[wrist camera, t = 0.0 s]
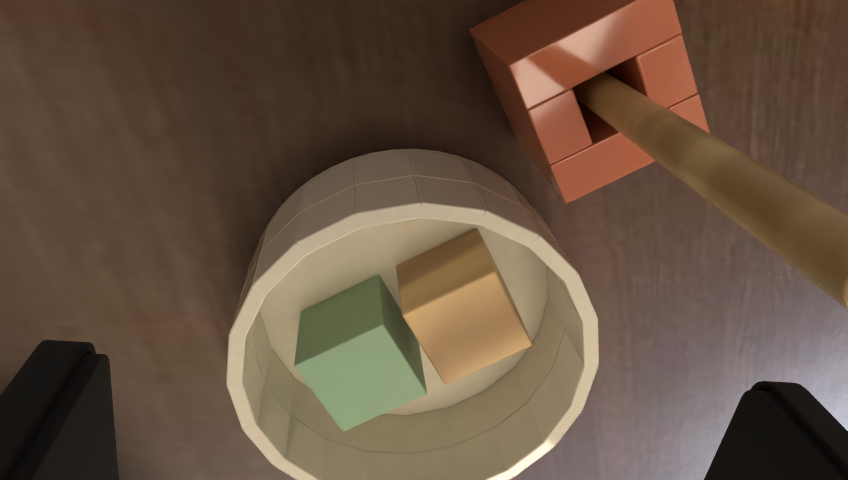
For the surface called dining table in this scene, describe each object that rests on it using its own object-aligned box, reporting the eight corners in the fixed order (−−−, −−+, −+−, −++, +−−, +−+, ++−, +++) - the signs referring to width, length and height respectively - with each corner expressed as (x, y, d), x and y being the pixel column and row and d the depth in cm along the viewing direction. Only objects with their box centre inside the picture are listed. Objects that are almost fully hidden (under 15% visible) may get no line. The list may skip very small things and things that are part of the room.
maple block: (395, 265, 28) (401, 315, 25) (476, 226, 28) (495, 270, 24) (433, 331, 30) (445, 386, 26) (511, 295, 30) (533, 346, 26)
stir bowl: (185, 240, 28) (145, 317, 22) (483, 88, 26) (518, 132, 21) (346, 451, 34) (345, 551, 28) (594, 339, 32) (643, 423, 27)
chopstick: (530, 51, 25) (837, 270, 9) (558, 37, 25) (916, 235, 9) (541, 78, 26) (849, 329, 10) (568, 65, 26) (924, 296, 10)
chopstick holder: (468, 29, 25) (508, 65, 19) (587, -33, 24) (669, -17, 18) (516, 139, 27) (565, 204, 21) (626, 85, 27) (711, 135, 20)
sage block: (300, 311, 29) (293, 366, 25) (379, 273, 28) (383, 324, 25) (343, 373, 31) (342, 432, 27) (418, 338, 30) (427, 394, 27)
